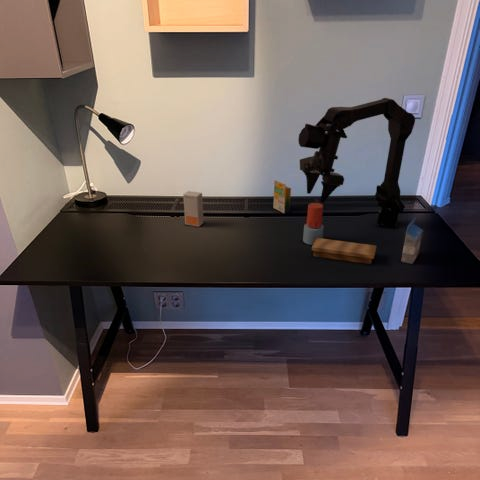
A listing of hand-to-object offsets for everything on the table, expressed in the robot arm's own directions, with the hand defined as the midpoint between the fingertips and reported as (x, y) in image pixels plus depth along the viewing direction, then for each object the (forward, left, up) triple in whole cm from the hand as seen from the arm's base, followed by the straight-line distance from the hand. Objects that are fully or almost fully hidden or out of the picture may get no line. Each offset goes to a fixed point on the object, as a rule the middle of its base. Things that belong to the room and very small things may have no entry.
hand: (315, 197), depth 155 cm
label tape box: (-34, +5, -15) cm, 37 cm away
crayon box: (+17, -23, -15) cm, 32 cm away
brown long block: (-13, +11, -15) cm, 22 cm away
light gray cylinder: (-1, +2, -15) cm, 15 cm away
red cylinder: (-1, +2, -9) cm, 9 cm away
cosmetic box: (+45, +1, -15) cm, 48 cm away
